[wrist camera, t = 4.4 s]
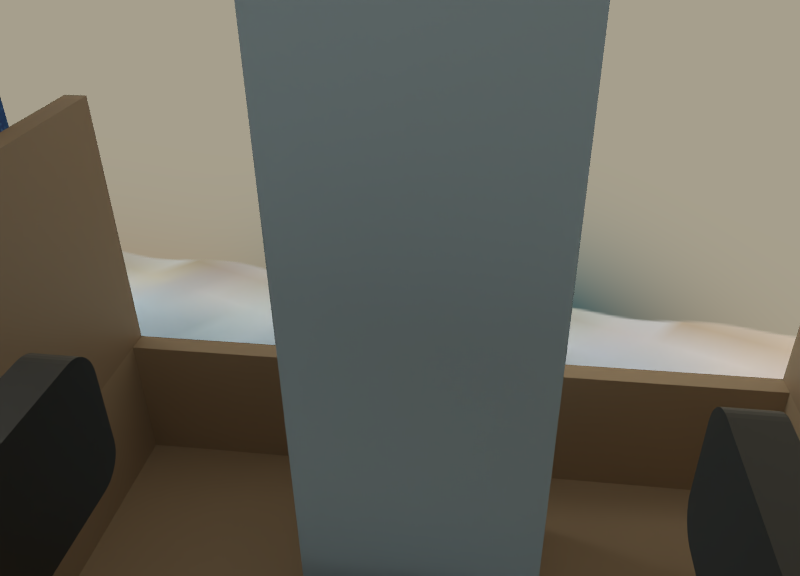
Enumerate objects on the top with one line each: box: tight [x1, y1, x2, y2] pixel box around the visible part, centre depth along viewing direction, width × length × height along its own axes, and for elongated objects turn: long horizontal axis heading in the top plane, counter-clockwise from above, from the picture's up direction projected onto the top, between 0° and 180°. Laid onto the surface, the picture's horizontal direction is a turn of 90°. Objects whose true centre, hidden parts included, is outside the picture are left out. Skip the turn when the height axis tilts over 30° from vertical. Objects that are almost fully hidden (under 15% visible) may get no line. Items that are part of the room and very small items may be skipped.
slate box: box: [235, 0, 610, 576], centre depth 15 cm, size 5×5×18 cm
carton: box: [0, 95, 800, 576], centre depth 17 cm, size 20×10×12 cm, turn 82°
